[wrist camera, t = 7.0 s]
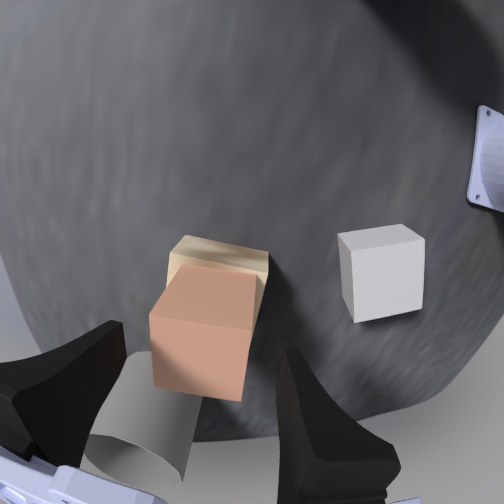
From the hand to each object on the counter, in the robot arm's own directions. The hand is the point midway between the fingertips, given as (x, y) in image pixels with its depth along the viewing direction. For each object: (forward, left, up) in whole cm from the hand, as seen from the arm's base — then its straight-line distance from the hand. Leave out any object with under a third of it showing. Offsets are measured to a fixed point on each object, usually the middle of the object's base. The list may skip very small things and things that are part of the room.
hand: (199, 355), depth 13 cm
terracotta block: (0, +1, -7) cm, 7 cm away
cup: (+6, +13, -11) cm, 18 cm away
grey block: (-10, -2, -11) cm, 15 cm away
